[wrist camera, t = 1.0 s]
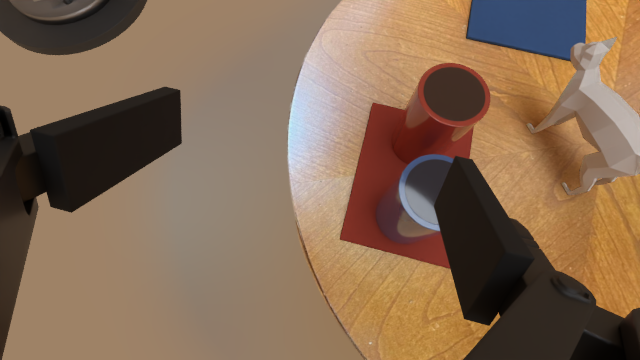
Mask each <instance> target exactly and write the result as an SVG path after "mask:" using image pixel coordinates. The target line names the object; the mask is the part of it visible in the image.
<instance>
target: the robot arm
mask: <svg viewBox="0 0 640 360" xmlns="http://www.w3.org/2000/svg"><path fill="white" fill-rule="evenodd" d="M9 1H10V2H11V3H12V5H13V6H14V7H16V8H17V9H18V10H19V11H20V12H21V13H22V14H23V15H25V16H26V17H27V18H29V19H31V20H33V21H35V22H38V23H41V24H47V25H64V24H70V23H74V22H77V21H80V20H83V19H85V18H87V17H89V16H91V15H93V14H95V13H96V12H98V11H99V10H100V9H102V8H103V7H104V6H105V5H106V4H107V3H108V2H109V0H9ZM181 141H182V140H181V102H180V90H177V89H173V88H168V87H163V88H160V89H156V90H153V91H150V92H147V93H144V94H141V95H138V96H135V97H131V98H128V99H125V100H122V101H119V102H116V103H113V104H109V105H106V106H103V107H100V108H97V109H94V110H91V111H88V112H84V113H81V114H79V115H75V116H72V117H69V118H66V119H63V120H59V121H57V122H53V123H50V124H47V125H44V126H41V127H37V128H34V129H31V130H30V132H29V133H26V134H23V135H20V136H18V134H17V131H16V128H15V124H14V120H13V117H12V114H11V110H10V109H9V108H7V107H5V106H0V360H2V356H3V352H4V348H5V343H6V339H7V335H8V331H9V327H10V323H11V319H12V314H13V310H14V306H15V302H16V298H17V294H18V290H19V286H20V282H21V277H22V273H23V269H24V265H25V261H26V257H27V253H28V249H29V244H30V240H31V236H32V232H33V228H34V224H35V219H36V215H37V211H38V203H37V199H36V197H37V196H39V195H40V194H43V193H45V192H47V195H48V199H49V202H50V206H51V207H53V208H57V209H60V210H64V211H68V212H73V211H75V210H76V209H78V208H79V207H81V206H83V205H84V204H86V203H87V202H89V201H91V200H92V199H94V198H95V197H97V196H99V195H100V194H102V193H103V192H105V191H107V190H108V189H110V188H111V187H113V186H115V185H116V184H118V183H119V182H121V181H123V180H124V179H126V178H127V177H129V176H130V175H132V174H134V173H135V172H137V171H138V170H140V169H142V168H143V167H145V166H146V165H148V164H149V163H151V162H153V161H154V160H156V159H158V158H159V157H161V156H162V155H164V154H165V153H167V152H169V151H170V150H172V149H173V148H175V147H177V146H178V145H180V144H181V143H182V142H181ZM434 209H435V213H436V217H437V221H438V224H439V228H440V232H441V235H442V239H443V243H444V246H445V250H446V254H447V257H448V261H449V265H450V268H451V272H452V276H453V279H454V283H455V287H456V291H457V294H458V298H459V302H460V305H461V309H462V313H463V316H464V319H466V320H470V321H474V322H477V323H481V324H485V325H488V326H489V325H490V324H491V322H492V321H493V320H494V318H495V317H496V315H497V314H498V312H499V314H500V318H499V320H498V321H497V322H496V323H495V324H494V325H493V326H492V327H491V329H490V330H489V331H488V332H487V333H486V334H485V335H484V337H483V338H482V339H481V340H480V341H479V342H478V343H477V345H476V346H475V347H474V348H473V349H472V350H471V351H470V353H469V354H468V355H467V356H466V357H465V358H464V359H463V360H640V308H637V309H633V310H632V311H631V312H630V313H629V314H628V315H627V316H626V317H625V318H623V317H620V316H618V315H616V314H614V313H612V312H609V311H607V310H605V309H603V308H600V307H598V306H596V299H595V298H594V296H593V294H592V293H591V292H590V291H589V290H588V289H587V288H586V287H585V286H584V285H583V284H581V283H580V282H578V281H577V280H575V279H574V278H572V277H570V276H568V275H566V274H564V273H562V272H559V271H556V270H555V269H554V268H553V266H552V265H551V263H550V262H549V260H548V259H547V257H546V256H545V254H544V253H543V251H542V250H541V249H539V246H538V244H537V243H536V241H534V238H533V237H532V235H531V234H530V232H529V231H528V230H527V229H526V228H525V227H524V226H523V225H522V224H520V223H519V222H518V221H517V220H515V219H511V218H509V217H508V215H507V214H506V212H505V210H504V209H503V207H502V206H501V204H500V203H499V201H498V199H497V198H496V196H495V195H494V193H493V192H492V190H491V188H490V187H489V185H488V184H487V182H486V180H485V179H484V177H483V176H482V174H481V173H480V171H479V169H478V168H477V166H476V165H475V163H474V161H473V160H472V159H468V158H463V157H459V156H455V157H454V160H453V162H452V164H451V167H450V169H449V171H448V174H447V176H446V178H445V181H444V183H443V185H442V188H441V190H440V192H439V195H438V197H437V199H436V202H435V204H434Z"/></svg>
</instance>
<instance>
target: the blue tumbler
mask: <svg viewBox="0 0 640 360" xmlns="http://www.w3.org/2000/svg"><path fill="white" fill-rule="evenodd" d="M453 160H454V159H453V158H451V157H448V156H445V155H439V154H429V155H424V156H421V157H419V158H416V159H415V160H413V161H412V162H411V163H409V164H408V165H407V167H406V168H405V169H404V170H403V171H402V173H401V174H400V175H399V176H398V177H397V179H396V180H395V181H394V182H393V184H392V185H391V186H390V187H389V188H388V190H387V191H386V192H385V193H384V195H383V196H382V197H381V198H380V200H379V201H378V204H377V207H376V221H377V224H378V227H379V228H380V230H381V231H382V233H383V234H384V235H385V236H386V237H387V238H389V239H390V240H392V241H394V242H396V243H400V244H413V243H416V242H419V241H422V240H425V239H428V238H431V237H434V236H437V235H440V234H441V232H440V228H439V224H438V221H437V217H436V213H435V209H434V204H435V202H436V199H437V197H438V195H439V192H440V190H441V188H442V185H443V183H444V181H445V178H446V176H447V174H448V171H449V169H450V167H451V164H452V162H453Z"/></svg>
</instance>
